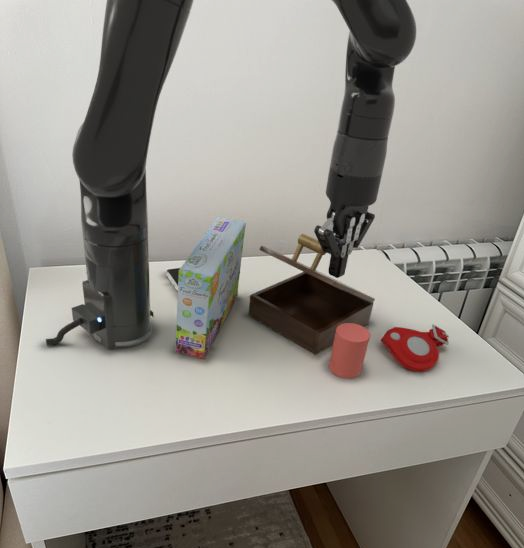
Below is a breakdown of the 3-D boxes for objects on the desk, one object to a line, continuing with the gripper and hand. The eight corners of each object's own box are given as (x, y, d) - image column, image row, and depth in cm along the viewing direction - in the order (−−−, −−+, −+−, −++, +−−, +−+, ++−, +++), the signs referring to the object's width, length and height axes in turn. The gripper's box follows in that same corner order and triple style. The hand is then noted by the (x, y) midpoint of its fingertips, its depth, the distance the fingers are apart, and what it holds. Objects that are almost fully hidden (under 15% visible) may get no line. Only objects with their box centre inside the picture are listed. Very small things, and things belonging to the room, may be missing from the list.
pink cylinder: (322, 367, 85) (329, 330, 81) (341, 354, 88) (349, 319, 84) (348, 382, 82) (357, 345, 78) (367, 369, 86) (376, 333, 82)
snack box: (208, 361, 84) (213, 276, 75) (173, 353, 84) (174, 269, 75) (240, 295, 100) (247, 219, 91) (211, 289, 101) (215, 213, 92)
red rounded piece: (433, 375, 84) (378, 341, 86) (421, 390, 88) (369, 357, 90) (459, 329, 91) (407, 299, 93) (447, 344, 95) (398, 315, 97)
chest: (315, 355, 88) (319, 333, 85) (248, 315, 96) (250, 294, 93) (368, 323, 97) (373, 303, 95) (303, 289, 106) (306, 270, 103)
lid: (332, 286, 81) (348, 253, 80) (258, 249, 89) (272, 219, 88) (373, 303, 95) (387, 275, 94) (305, 270, 103) (318, 244, 102)
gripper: (361, 153, 82) (341, 256, 92) (307, 166, 74) (291, 278, 84) (403, 166, 78) (377, 272, 88) (350, 182, 70) (329, 297, 80)
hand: (335, 274), depth 86 cm, fingers closed
